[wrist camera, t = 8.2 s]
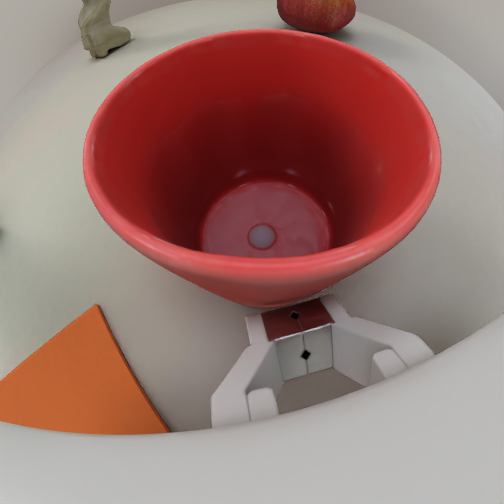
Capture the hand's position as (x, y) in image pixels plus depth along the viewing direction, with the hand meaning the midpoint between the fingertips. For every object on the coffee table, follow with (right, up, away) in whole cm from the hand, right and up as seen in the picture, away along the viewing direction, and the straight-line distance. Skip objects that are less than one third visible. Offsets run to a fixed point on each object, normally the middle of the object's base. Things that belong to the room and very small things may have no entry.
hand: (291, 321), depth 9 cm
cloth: (-14, -11, +1) cm, 17 cm away
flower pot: (-1, +3, +7) cm, 7 cm away
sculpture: (-23, +34, +22) cm, 46 cm away
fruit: (+7, +32, +19) cm, 38 cm away
